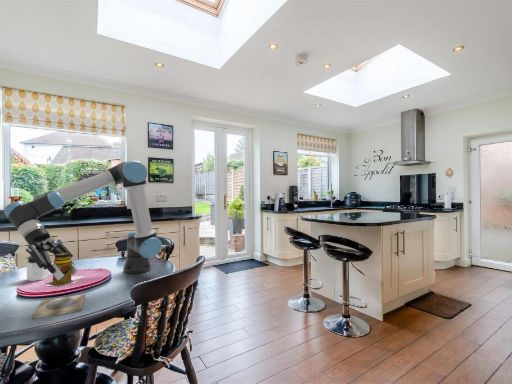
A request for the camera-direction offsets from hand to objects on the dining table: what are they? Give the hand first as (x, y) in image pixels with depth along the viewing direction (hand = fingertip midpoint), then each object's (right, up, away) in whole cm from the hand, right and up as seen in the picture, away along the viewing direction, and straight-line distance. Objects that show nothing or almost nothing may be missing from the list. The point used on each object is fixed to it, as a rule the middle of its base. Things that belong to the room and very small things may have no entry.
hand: (68, 275), depth 105 cm
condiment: (-4, -4, +1) cm, 5 cm away
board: (-3, -13, +1) cm, 14 cm away
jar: (-40, -13, +33) cm, 54 cm away
